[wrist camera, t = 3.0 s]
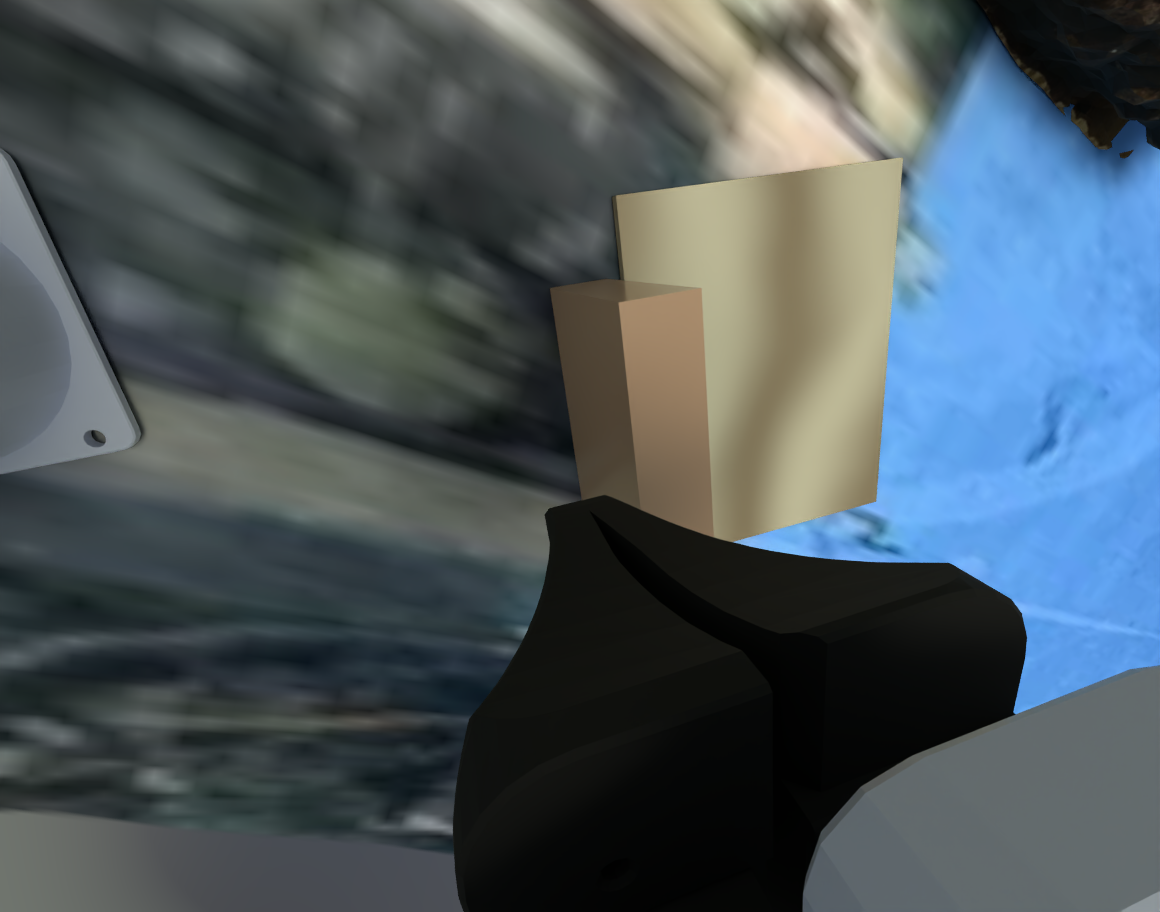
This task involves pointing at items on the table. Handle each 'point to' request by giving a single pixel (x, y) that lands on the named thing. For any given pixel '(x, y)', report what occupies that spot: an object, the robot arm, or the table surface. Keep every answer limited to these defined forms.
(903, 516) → the table surface
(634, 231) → the board
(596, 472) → the block
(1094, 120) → the pine cone
